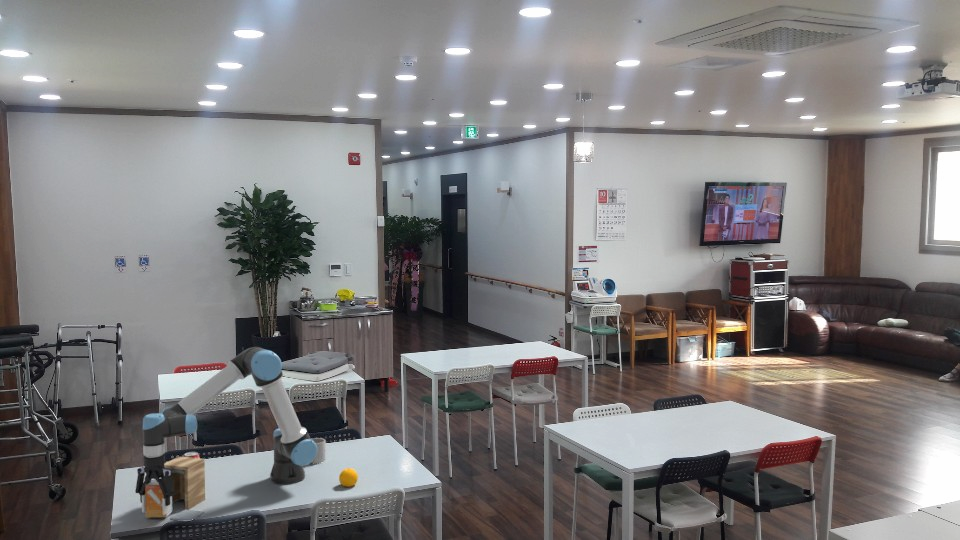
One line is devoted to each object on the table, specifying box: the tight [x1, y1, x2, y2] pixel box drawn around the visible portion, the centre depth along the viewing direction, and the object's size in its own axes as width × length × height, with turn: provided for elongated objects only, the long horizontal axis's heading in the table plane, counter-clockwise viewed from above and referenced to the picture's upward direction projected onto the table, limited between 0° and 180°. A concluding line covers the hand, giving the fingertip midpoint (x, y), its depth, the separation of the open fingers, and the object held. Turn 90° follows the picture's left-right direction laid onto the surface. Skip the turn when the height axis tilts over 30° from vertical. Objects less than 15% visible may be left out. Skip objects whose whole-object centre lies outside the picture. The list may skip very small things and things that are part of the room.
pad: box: [169, 508, 206, 521], centre depth 290 cm, size 9×9×1 cm
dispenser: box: [163, 456, 206, 510], centre depth 303 cm, size 12×11×17 cm
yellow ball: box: [338, 467, 359, 488], centre depth 325 cm, size 8×8×8 cm
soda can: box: [183, 451, 201, 459], centre depth 331 cm, size 7×7×12 cm
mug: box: [310, 437, 327, 464], centre depth 359 cm, size 12×9×10 cm
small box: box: [145, 479, 173, 518], centre depth 289 cm, size 8×6×13 cm
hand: (155, 512), depth 287 cm, fingers closed on small box, 9 cm apart
